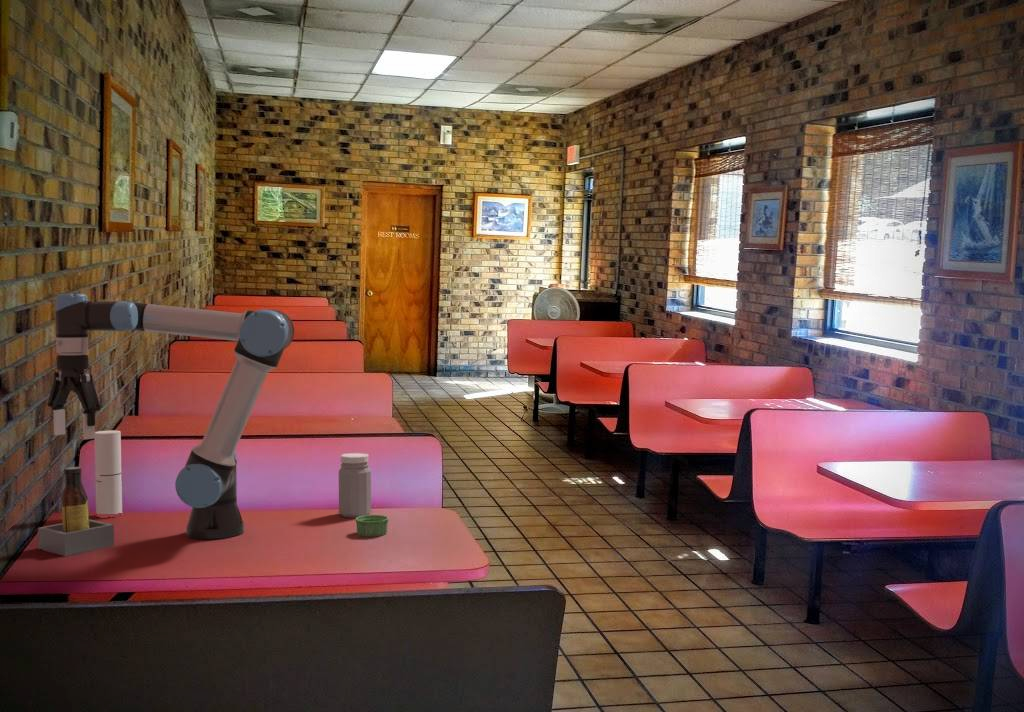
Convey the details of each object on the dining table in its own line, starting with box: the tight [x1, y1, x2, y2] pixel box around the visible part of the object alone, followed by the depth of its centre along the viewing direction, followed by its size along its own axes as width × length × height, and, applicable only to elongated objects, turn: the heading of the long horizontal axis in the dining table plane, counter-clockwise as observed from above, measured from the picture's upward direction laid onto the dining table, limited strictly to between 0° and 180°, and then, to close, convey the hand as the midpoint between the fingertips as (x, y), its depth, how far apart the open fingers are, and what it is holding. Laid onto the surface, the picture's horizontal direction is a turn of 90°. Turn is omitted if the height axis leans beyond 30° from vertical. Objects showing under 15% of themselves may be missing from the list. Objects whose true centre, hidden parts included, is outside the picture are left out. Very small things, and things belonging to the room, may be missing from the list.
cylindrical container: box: [94, 429, 123, 514], centre depth 292 cm, size 7×7×25 cm
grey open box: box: [37, 518, 115, 557], centre depth 255 cm, size 12×13×6 cm
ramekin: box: [354, 514, 389, 538], centre depth 271 cm, size 9×9×4 cm
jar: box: [338, 452, 372, 519], centre depth 294 cm, size 10×10×18 cm
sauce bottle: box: [61, 466, 90, 533], centre depth 254 cm, size 7×6×20 cm
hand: (74, 436), depth 253 cm, fingers open, 13 cm apart
